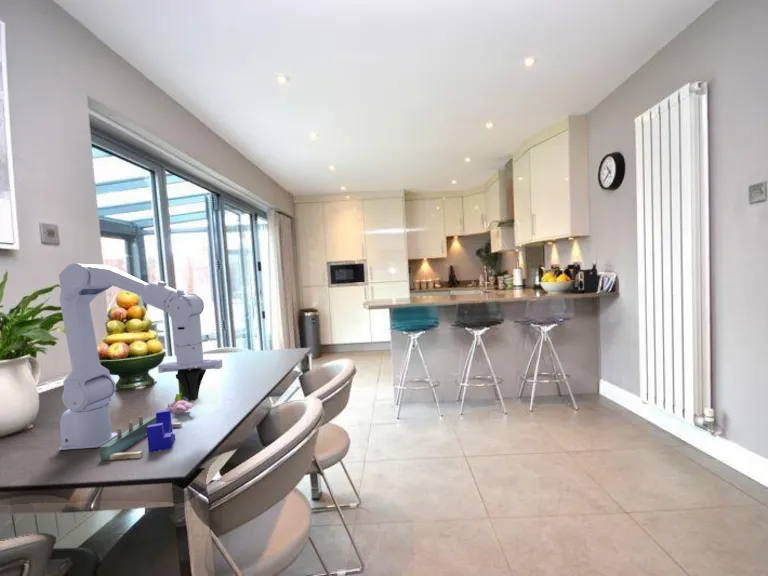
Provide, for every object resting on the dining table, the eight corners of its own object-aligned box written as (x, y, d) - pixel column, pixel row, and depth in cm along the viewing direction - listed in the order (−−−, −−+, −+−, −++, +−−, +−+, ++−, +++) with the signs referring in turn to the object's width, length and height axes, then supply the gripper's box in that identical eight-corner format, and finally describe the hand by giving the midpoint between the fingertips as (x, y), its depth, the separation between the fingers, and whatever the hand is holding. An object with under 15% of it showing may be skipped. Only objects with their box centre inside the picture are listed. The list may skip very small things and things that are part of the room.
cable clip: (171, 449, 87) (169, 423, 87) (148, 453, 86) (146, 427, 86) (178, 431, 99) (177, 408, 98) (158, 434, 97) (157, 411, 97)
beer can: (195, 393, 133) (192, 359, 133) (198, 396, 129) (196, 361, 128) (178, 397, 130) (175, 362, 129) (180, 400, 125) (178, 364, 125)
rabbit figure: (162, 416, 115) (177, 418, 105) (159, 396, 116) (174, 396, 105) (184, 410, 120) (200, 411, 109) (181, 391, 120) (198, 391, 110)
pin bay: (100, 460, 83) (99, 438, 83) (149, 428, 101) (148, 409, 101) (140, 457, 83) (138, 435, 83) (181, 426, 101) (180, 407, 101)
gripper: (148, 349, 88) (153, 407, 88) (211, 345, 88) (216, 403, 88) (165, 344, 95) (169, 397, 95) (224, 340, 95) (228, 393, 96)
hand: (193, 399), depth 92 cm, fingers closed
